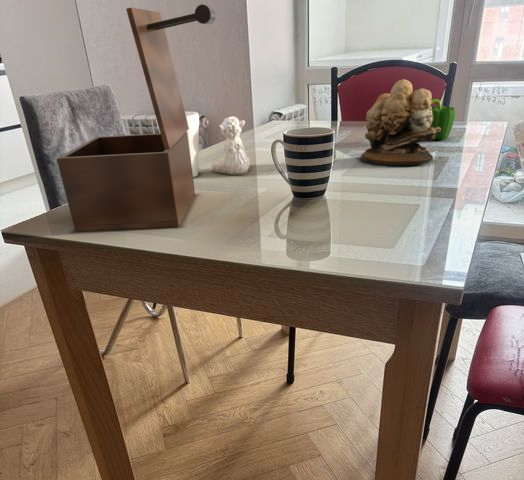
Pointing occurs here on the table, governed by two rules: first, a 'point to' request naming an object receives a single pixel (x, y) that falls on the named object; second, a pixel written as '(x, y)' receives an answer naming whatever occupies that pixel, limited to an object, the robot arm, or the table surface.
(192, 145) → the foam cup
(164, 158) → the bin
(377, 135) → the owl figurine
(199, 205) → the table surface
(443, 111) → the bell pepper
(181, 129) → the bin lid
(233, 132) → the white creature statuette
